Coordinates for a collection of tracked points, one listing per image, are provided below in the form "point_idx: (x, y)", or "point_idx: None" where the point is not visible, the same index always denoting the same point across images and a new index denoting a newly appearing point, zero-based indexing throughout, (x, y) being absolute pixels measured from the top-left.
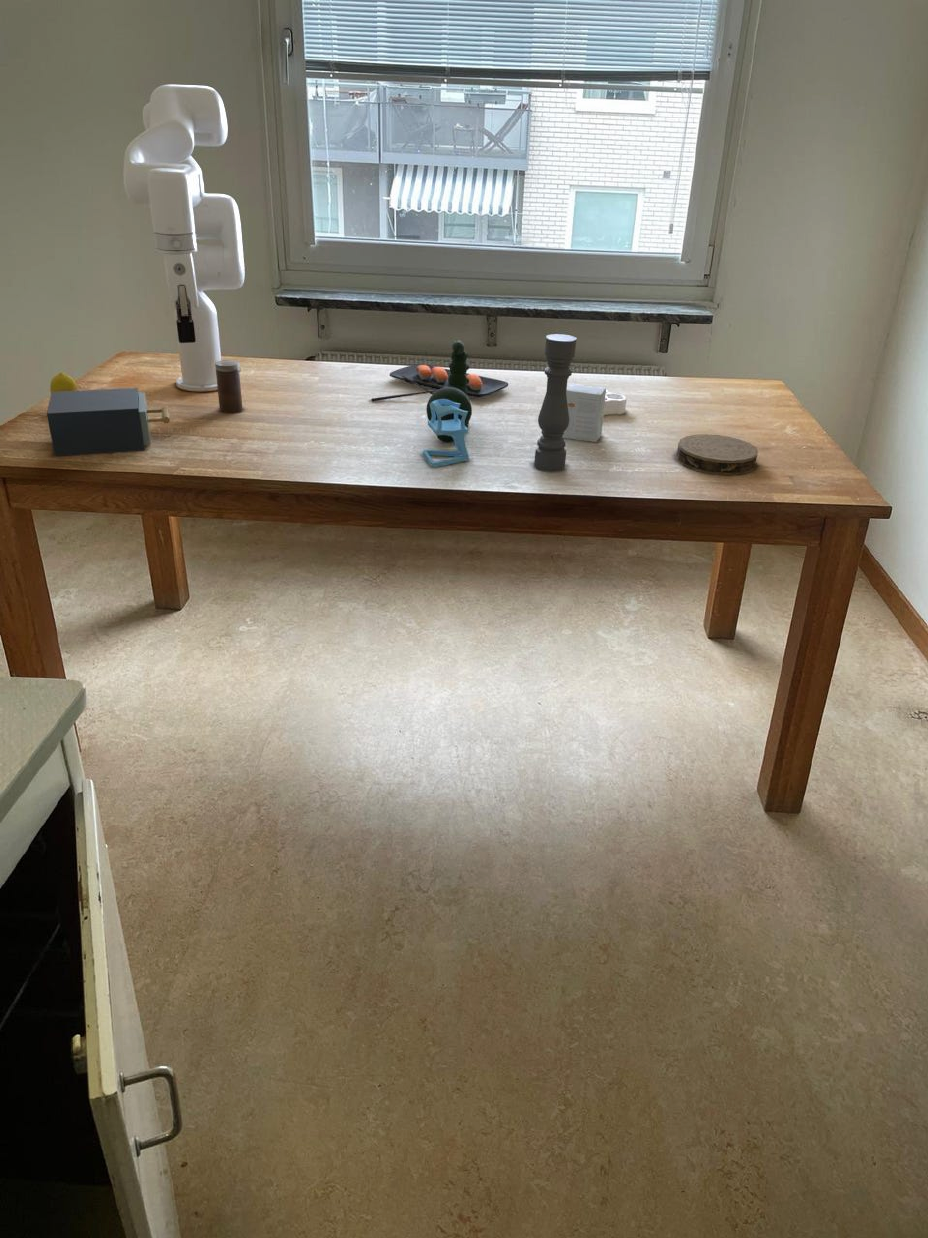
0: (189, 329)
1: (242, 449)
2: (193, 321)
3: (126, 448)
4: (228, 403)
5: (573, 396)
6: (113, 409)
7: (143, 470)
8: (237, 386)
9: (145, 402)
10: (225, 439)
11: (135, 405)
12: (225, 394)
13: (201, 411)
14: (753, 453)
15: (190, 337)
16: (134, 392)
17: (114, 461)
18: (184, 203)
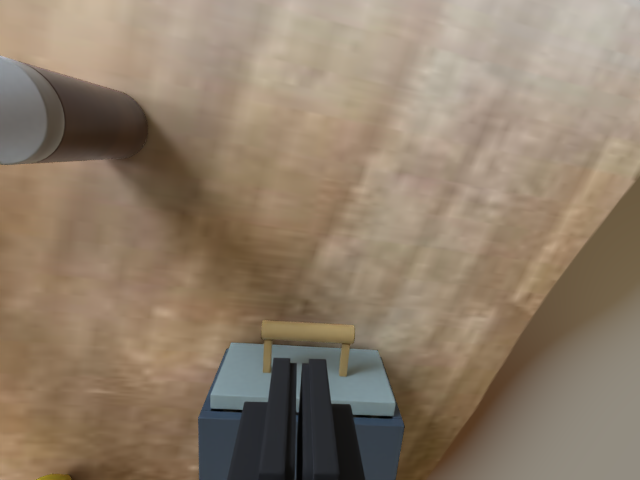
0: (360, 455)
1: (450, 155)
2: (326, 472)
3: None
4: (133, 134)
5: None
6: (393, 476)
7: (495, 365)
8: (91, 91)
9: (256, 384)
10: (364, 183)
11: (374, 430)
12: (116, 140)
13: (118, 208)
14: None
15: (351, 408)
16: None
17: (425, 407)
18: None
